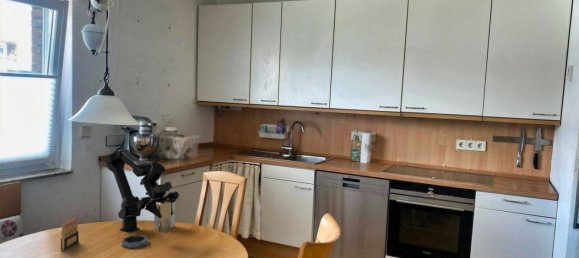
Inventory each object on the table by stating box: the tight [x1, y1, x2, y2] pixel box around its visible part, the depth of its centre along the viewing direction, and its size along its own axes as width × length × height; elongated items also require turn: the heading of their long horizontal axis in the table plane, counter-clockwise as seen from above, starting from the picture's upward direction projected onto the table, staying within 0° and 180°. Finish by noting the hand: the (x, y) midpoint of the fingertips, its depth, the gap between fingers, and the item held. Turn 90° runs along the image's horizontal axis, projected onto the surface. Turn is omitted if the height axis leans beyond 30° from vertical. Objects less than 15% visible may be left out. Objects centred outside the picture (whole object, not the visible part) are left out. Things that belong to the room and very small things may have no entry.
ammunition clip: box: [60, 215, 80, 251], centre depth 181 cm, size 11×2×12 cm, turn 178°
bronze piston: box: [157, 201, 172, 234], centre depth 187 cm, size 6×6×12 cm
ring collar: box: [121, 234, 149, 250], centre depth 186 cm, size 11×11×2 cm
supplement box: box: [153, 201, 176, 230], centre depth 210 cm, size 7×7×13 cm
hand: (166, 216), depth 186 cm, fingers closed on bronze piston, 5 cm apart
